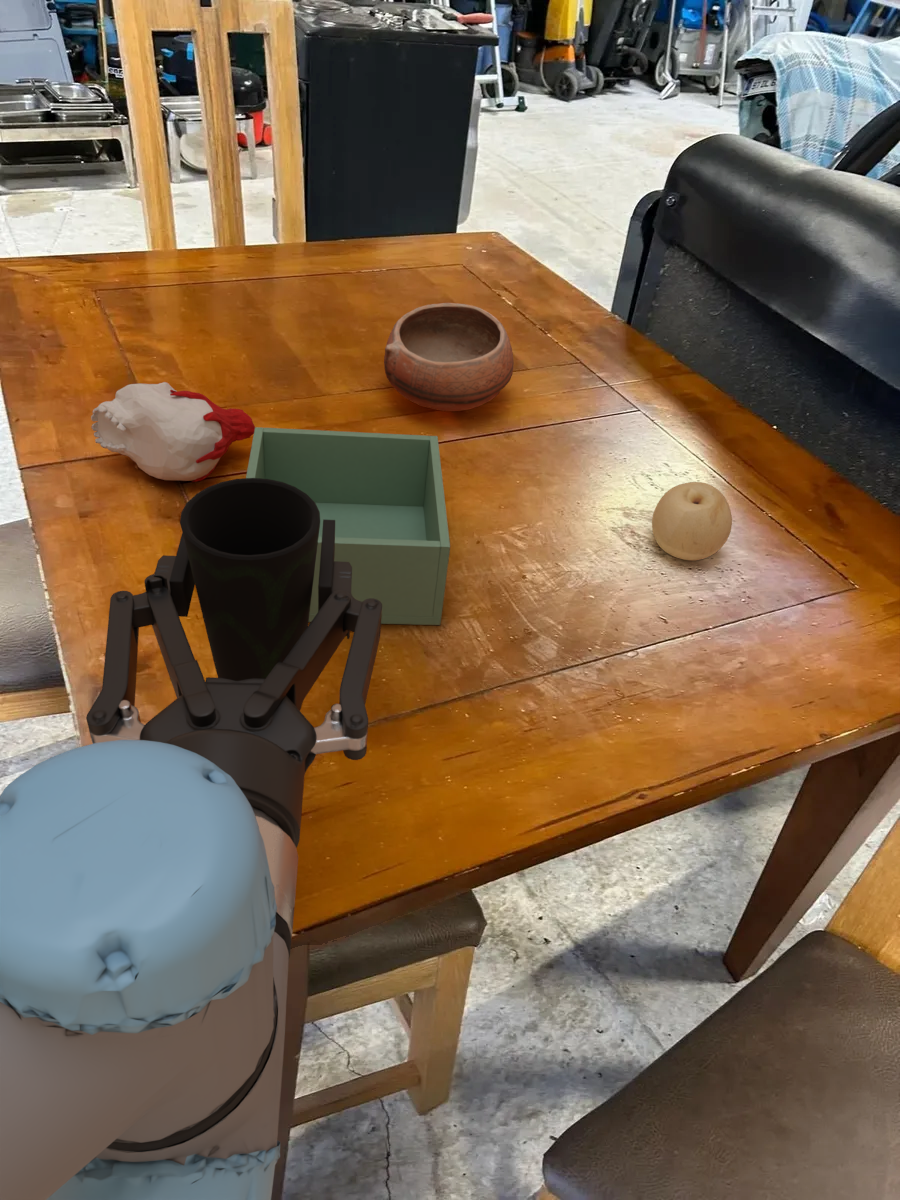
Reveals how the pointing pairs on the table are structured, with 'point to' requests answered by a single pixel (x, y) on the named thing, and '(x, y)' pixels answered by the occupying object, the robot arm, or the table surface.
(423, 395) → the bowl
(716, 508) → the apple
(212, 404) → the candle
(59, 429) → the table surface
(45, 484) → the table surface
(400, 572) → the open storage box
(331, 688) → the table surface
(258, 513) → the cup
